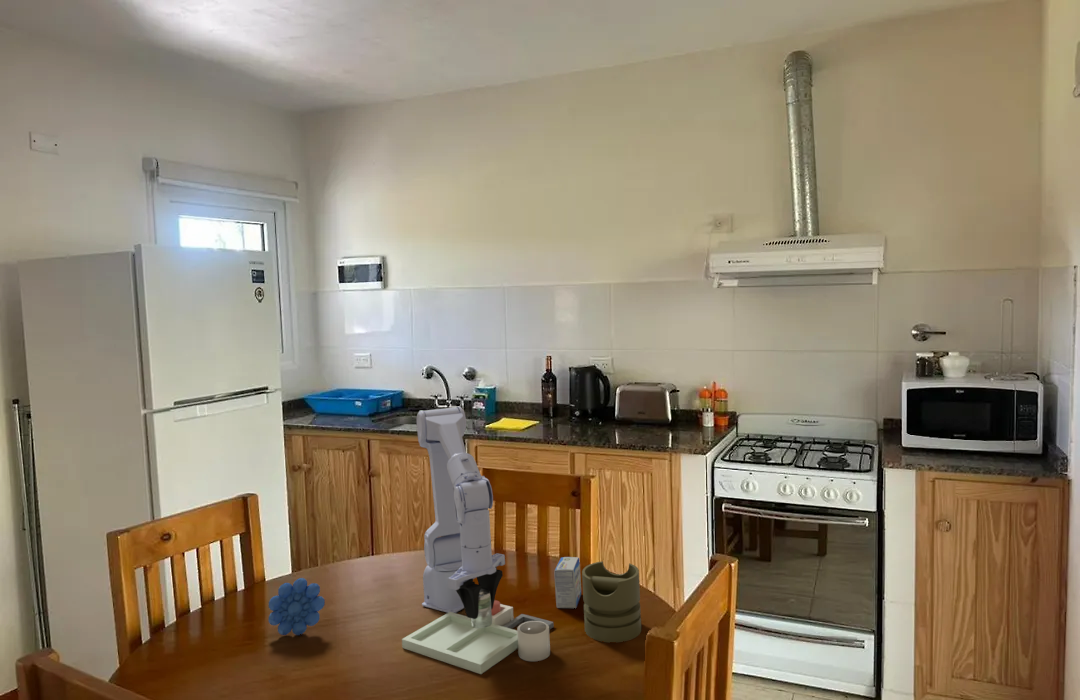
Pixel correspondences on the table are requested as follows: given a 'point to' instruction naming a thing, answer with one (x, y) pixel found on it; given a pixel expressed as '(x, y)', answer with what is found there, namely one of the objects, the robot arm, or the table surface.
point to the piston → (611, 603)
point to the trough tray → (462, 642)
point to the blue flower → (296, 607)
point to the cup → (533, 641)
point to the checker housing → (503, 615)
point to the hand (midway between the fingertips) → (480, 612)
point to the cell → (483, 610)
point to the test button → (495, 607)
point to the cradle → (526, 619)
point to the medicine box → (567, 582)
